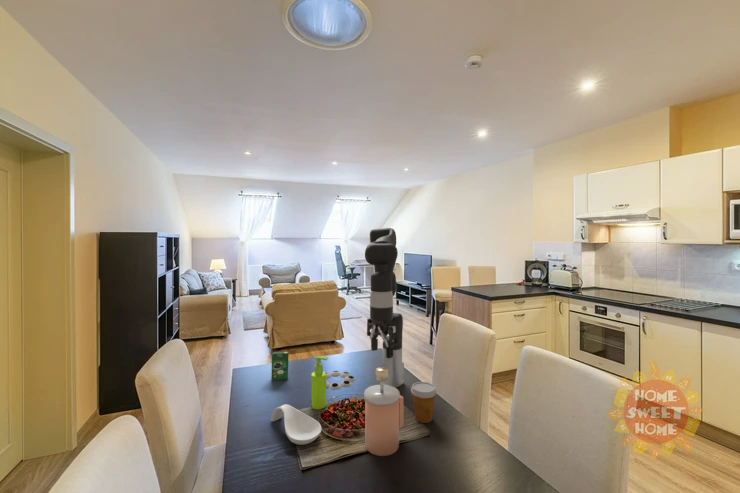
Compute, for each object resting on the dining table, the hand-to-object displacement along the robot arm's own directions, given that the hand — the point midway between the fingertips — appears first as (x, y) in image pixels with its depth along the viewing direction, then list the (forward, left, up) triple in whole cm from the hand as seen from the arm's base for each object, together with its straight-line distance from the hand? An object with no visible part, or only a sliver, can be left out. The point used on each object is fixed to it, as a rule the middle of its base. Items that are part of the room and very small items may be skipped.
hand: (381, 353), depth 102 cm
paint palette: (-9, -52, -31) cm, 61 cm away
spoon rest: (+22, -23, -30) cm, 44 cm away
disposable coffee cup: (-22, -4, -30) cm, 38 cm away
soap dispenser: (+7, -34, -30) cm, 46 cm away
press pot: (-1, 0, -30) cm, 30 cm away
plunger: (0, 0, -13) cm, 13 cm away
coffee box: (+13, -68, -30) cm, 76 cm away
